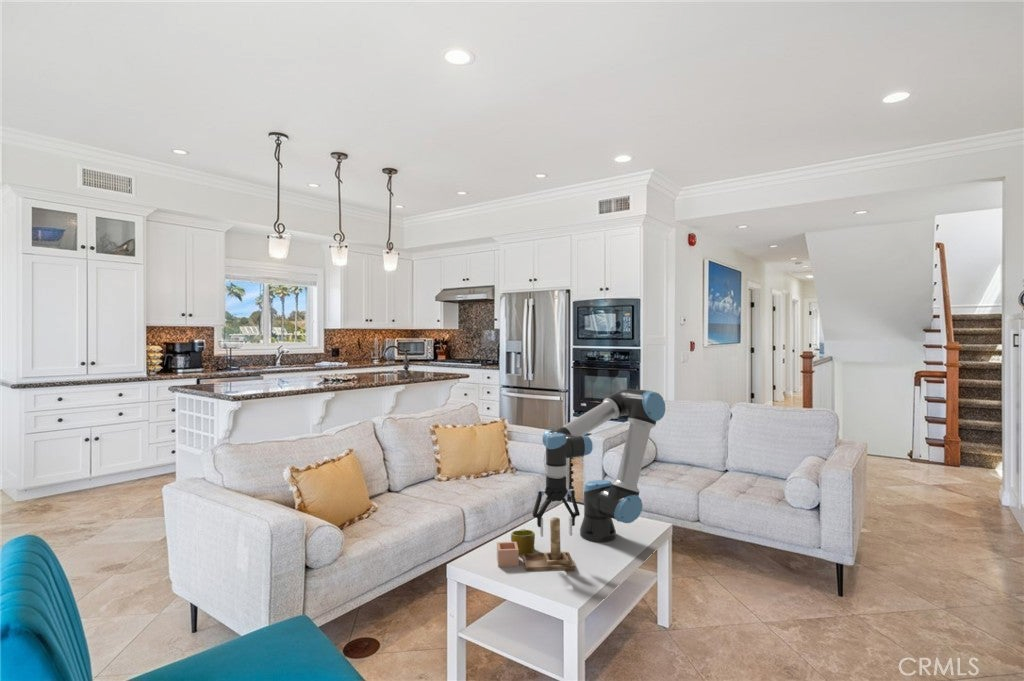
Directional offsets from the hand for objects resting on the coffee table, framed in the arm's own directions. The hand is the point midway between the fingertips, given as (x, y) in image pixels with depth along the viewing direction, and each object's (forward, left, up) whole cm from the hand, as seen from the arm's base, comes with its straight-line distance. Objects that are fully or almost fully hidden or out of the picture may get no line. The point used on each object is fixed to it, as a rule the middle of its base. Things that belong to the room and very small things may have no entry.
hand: (556, 534), depth 201 cm
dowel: (0, 0, -10) cm, 10 cm away
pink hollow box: (+18, -2, -11) cm, 21 cm away
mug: (+11, -14, -12) cm, 21 cm away
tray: (+3, 0, -11) cm, 12 cm away
